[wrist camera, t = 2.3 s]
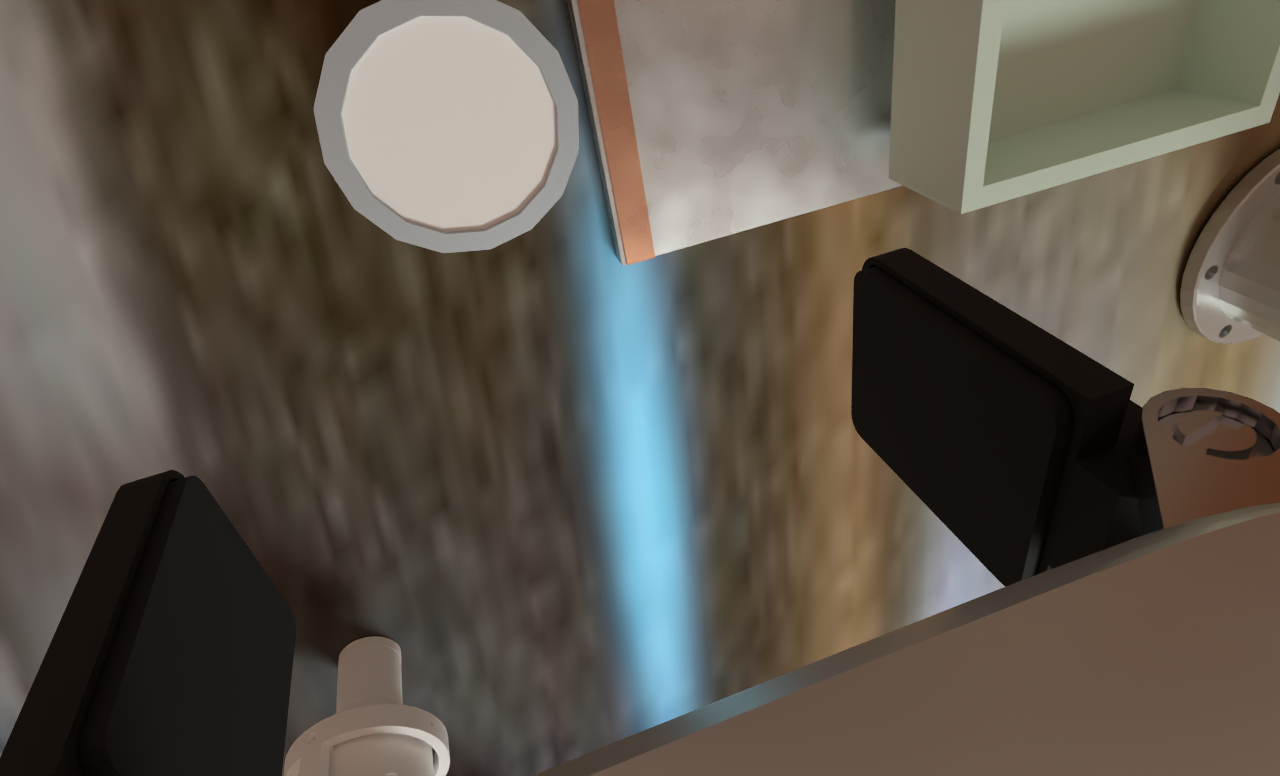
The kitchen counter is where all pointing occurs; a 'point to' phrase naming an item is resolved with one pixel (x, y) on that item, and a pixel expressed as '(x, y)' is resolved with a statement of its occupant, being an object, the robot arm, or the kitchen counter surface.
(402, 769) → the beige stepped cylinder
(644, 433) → the kitchen counter surface
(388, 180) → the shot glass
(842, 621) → the kitchen counter surface
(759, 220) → the white flat board
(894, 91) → the pale green open box
